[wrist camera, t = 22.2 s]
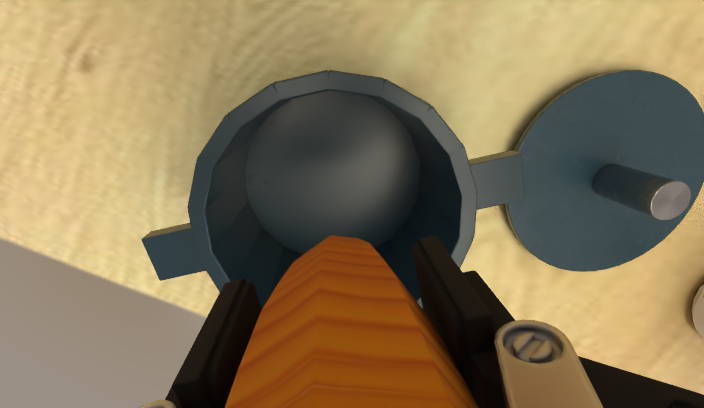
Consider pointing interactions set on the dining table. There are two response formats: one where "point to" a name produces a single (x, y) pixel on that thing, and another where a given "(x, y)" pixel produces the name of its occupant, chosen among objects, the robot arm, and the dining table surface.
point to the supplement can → (699, 311)
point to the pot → (329, 182)
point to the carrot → (346, 340)
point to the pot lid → (608, 170)
